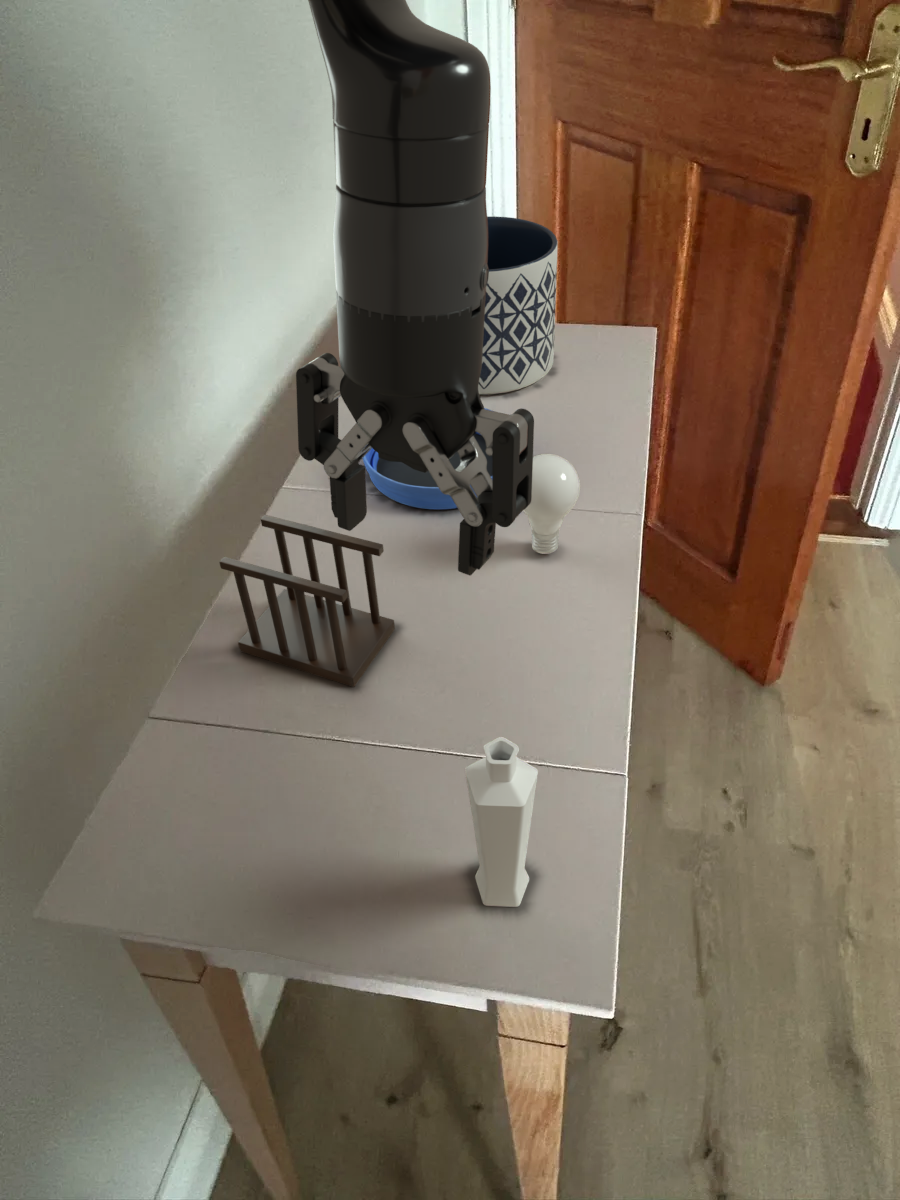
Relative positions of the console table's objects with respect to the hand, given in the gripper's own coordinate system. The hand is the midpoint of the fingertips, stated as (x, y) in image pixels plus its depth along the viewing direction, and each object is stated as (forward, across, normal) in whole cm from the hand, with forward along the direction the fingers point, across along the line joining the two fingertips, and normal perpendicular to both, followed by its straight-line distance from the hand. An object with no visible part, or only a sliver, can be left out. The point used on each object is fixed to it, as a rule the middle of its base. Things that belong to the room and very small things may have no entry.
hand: (410, 544), depth 56 cm
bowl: (+22, -21, +41) cm, 51 cm away
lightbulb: (+22, -4, +32) cm, 39 cm away
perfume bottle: (+24, +10, -4) cm, 26 cm away
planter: (+21, -28, +65) cm, 74 cm away
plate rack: (+24, -17, +11) cm, 31 cm away
